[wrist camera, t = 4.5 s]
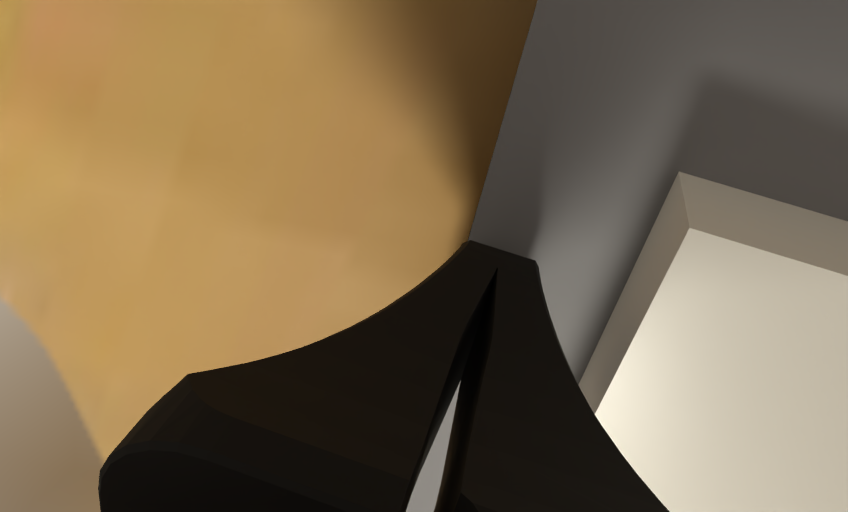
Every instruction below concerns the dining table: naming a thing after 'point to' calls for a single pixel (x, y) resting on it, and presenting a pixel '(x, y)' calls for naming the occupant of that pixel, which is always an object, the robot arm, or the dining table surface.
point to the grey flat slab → (652, 141)
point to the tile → (731, 356)
